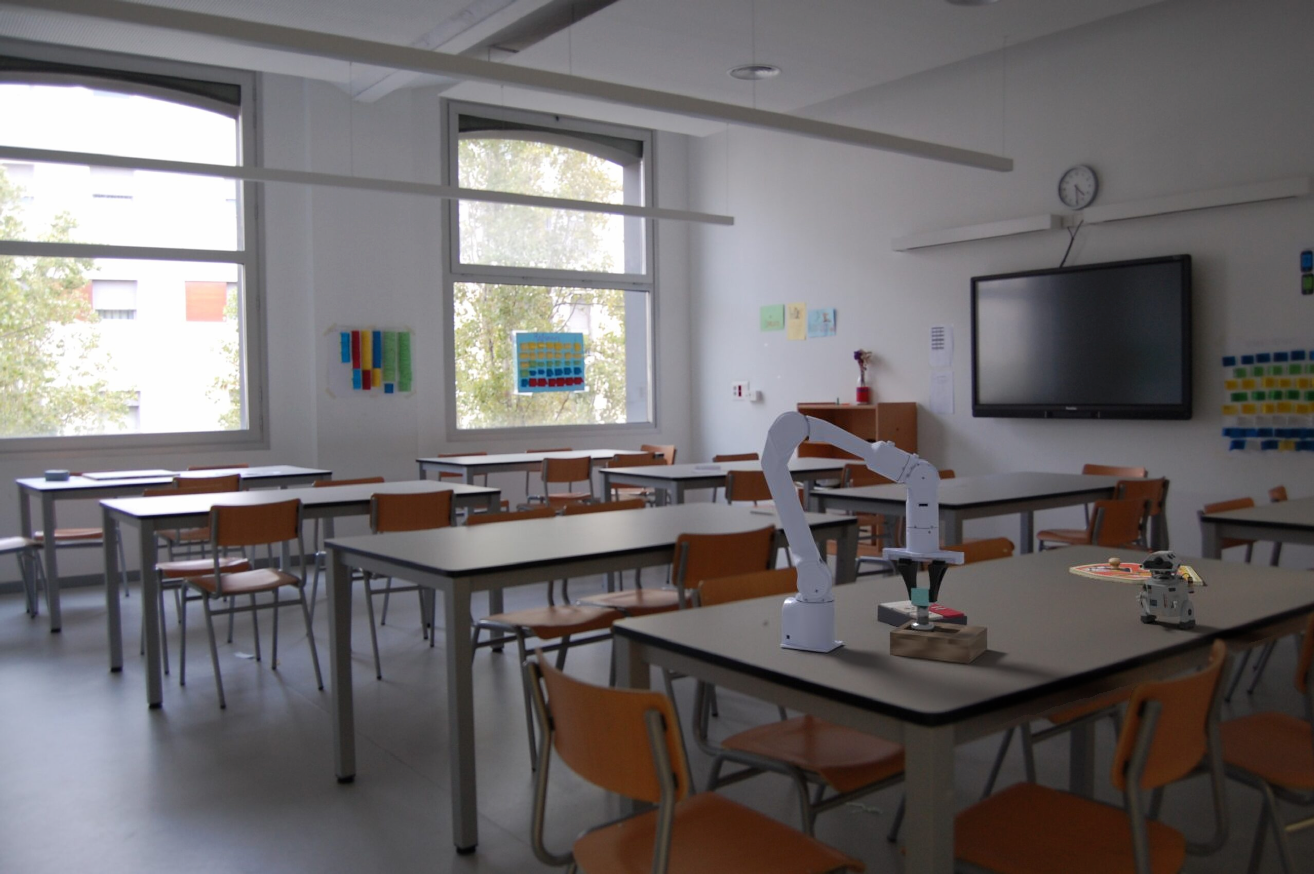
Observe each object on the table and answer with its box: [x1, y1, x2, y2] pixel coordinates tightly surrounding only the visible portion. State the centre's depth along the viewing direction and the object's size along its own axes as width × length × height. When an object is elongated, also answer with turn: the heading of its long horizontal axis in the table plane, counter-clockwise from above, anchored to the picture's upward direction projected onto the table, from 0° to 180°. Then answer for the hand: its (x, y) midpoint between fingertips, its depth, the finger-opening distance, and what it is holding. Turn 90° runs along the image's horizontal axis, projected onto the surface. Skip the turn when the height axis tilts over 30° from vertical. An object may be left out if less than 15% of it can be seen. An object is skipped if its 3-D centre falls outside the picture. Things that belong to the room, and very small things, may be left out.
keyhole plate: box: [889, 620, 988, 665], centre depth 184 cm, size 14×12×4 cm
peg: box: [911, 585, 935, 633], centre depth 186 cm, size 4×4×8 cm
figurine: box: [1135, 549, 1197, 630], centre depth 201 cm, size 9×12×15 cm
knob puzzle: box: [1069, 557, 1204, 587], centre depth 261 cm, size 29×30×4 cm
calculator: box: [876, 600, 968, 628], centre depth 207 cm, size 11×4×15 cm
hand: (923, 600), depth 186 cm, fingers closed on peg, 3 cm apart
